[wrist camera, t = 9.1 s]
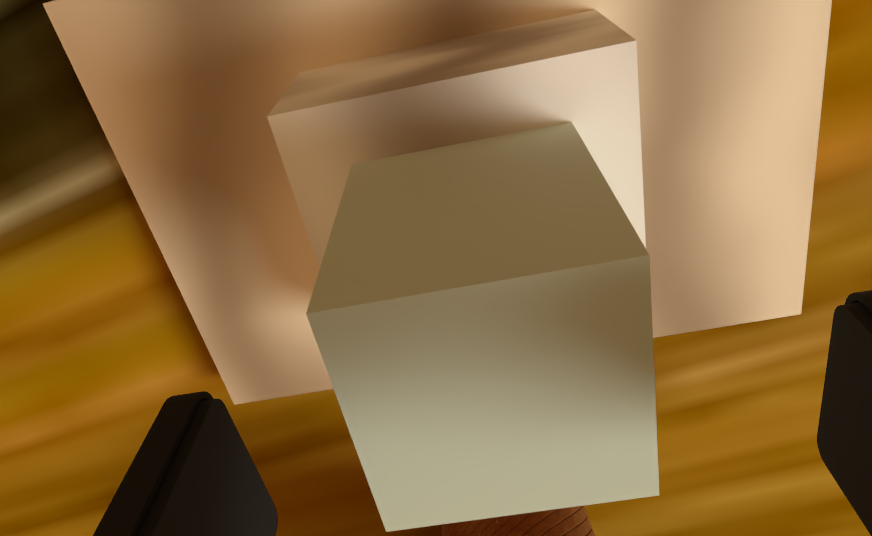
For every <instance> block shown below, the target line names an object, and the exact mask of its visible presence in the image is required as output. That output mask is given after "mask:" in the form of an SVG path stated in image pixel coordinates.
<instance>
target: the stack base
mask: <svg viewBox="0 0 872 536" xmlns="http://www.w3.org/2000/svg"><path fill="white" fill-rule="evenodd" d="M831 4H832V0H54V1H50V2H47V3H43V6H44V8H45V10H46V12H47V14H48V16H49V18H50V20H51V23H52V25H53V27H54V29H55V31H56V33H57V35H58V37H59V39H60V41H61V43H62V45H63V48H64V50H65V52H66V54H67V56H68V58H69V60H70V62H71V64H72V66H73V68H74V71H75V73H76V75H77V77H78V79H79V81H80V83H81V85H82V87H83V89H84V91H85V94H86V96H87V98H88V100H89V102H90V104H91V106H92V108H93V110H94V112H95V114H96V117H97V119H98V121H99V123H100V125H101V127H102V129H103V131H104V133H105V135H106V137H107V139H108V142H109V144H110V146H111V148H112V150H113V152H114V154H115V156H116V158H117V160H118V162H119V165H120V167H121V169H122V171H123V173H124V175H125V177H126V179H127V181H128V183H129V185H130V188H131V190H132V192H133V194H134V196H135V198H136V200H137V202H138V204H139V206H140V208H141V211H142V213H143V215H144V217H145V219H146V221H147V223H148V225H149V227H150V229H151V231H152V234H153V236H154V238H155V240H156V242H157V244H158V246H159V248H160V250H161V252H162V254H163V256H164V259H165V261H166V263H167V265H168V267H169V269H170V271H171V273H172V275H173V277H174V279H175V282H176V284H177V286H178V288H179V290H180V292H181V294H182V296H183V298H184V300H185V302H186V305H187V307H188V309H189V311H190V313H191V315H192V317H193V319H194V321H195V323H196V325H197V328H198V330H199V332H200V334H201V336H202V338H203V340H204V342H205V344H206V346H207V348H208V350H209V353H210V355H211V357H212V359H213V361H214V363H215V365H216V367H217V369H218V371H219V373H220V376H221V378H222V380H223V382H224V384H225V386H226V388H227V390H228V392H229V394H230V396H231V399H232V401H233V403H234V405H235V404H241V403H248V402H254V401H260V400H266V399H273V398H279V397H285V396H291V395H298V394H304V393H310V392H316V391H323V390H329V389H334V388H333V386H332V383H331V380H330V378H329V375H328V372H327V369H326V367H325V364H324V361H323V358H322V356H321V353H320V350H319V348H318V345H317V342H316V339H315V337H314V334H313V331H312V329H311V326H310V323H309V320H308V318H307V315H306V312H307V309H308V306H309V303H310V299H311V296H312V293H313V289H314V286H315V283H316V280H317V276H318V273H319V270H320V267H321V263H322V260H323V257H324V253H325V250H326V247H327V244H328V240H329V237H330V234H331V231H332V227H333V224H334V221H335V218H336V214H337V211H338V208H339V204H340V201H341V198H342V195H343V191H344V188H345V185H346V182H347V178H348V175H349V172H350V169H351V165H352V164H357V163H362V162H367V161H372V160H377V159H382V158H387V157H393V156H398V155H403V154H408V153H413V152H418V151H424V150H429V149H434V148H439V147H444V146H449V145H455V144H460V143H465V142H470V141H475V140H480V139H486V138H491V137H496V136H501V135H506V134H511V133H517V132H522V131H527V130H532V129H537V128H542V127H547V126H553V125H558V124H563V123H568V122H572V123H573V125H574V127H575V128H576V130H577V132H578V133H579V135H580V137H581V139H582V140H583V142H584V144H585V145H586V147H587V149H588V151H589V152H590V154H591V156H592V157H593V159H594V161H595V162H596V164H597V166H598V168H599V169H600V171H601V173H602V174H603V176H604V178H605V180H606V181H607V183H608V185H609V186H610V188H611V190H612V192H613V193H614V195H615V197H616V198H617V200H618V202H619V204H620V205H621V207H622V209H623V210H624V212H625V214H626V216H627V217H628V219H629V221H630V222H631V224H632V226H633V227H634V229H635V231H636V233H637V234H638V236H639V238H640V239H641V241H642V243H643V245H644V246H645V248H646V250H647V251H648V253H649V255H650V278H651V303H652V327H653V338H655V337H661V336H667V335H673V334H680V333H686V332H692V331H698V330H705V329H711V328H717V327H723V326H730V325H736V324H742V323H749V322H755V321H761V320H767V319H774V318H780V317H786V316H792V315H799V314H801V309H802V299H803V289H804V279H805V269H806V258H807V248H808V238H809V228H810V218H811V207H812V197H813V187H814V177H815V167H816V157H817V146H818V136H819V126H820V116H821V106H822V95H823V85H824V75H825V65H826V55H827V44H828V34H829V24H830V14H831Z"/></svg>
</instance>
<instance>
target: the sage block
mask: <svg viewBox="0 0 872 536" xmlns="http://www.w3.org/2000/svg"><path fill="white" fill-rule="evenodd" d="M306 315H307V318H308V320H309V323H310V326H311V329H312V331H313V334H314V337H315V339H316V342H317V345H318V348H319V350H320V353H321V356H322V358H323V361H324V364H325V367H326V369H327V372H328V375H329V378H330V380H331V383H332V386H333V388H334V391H335V394H336V397H337V399H338V402H339V405H340V407H341V410H342V413H343V416H344V418H345V421H346V424H347V426H348V429H349V432H350V435H351V437H352V440H353V443H354V446H355V448H356V451H357V454H358V456H359V459H360V462H361V465H362V467H363V470H364V473H365V475H366V478H367V481H368V484H369V486H370V489H371V492H372V494H373V497H374V500H375V503H376V505H377V508H378V511H379V513H380V516H381V519H382V522H383V524H384V527H385V530H386V532H389V531H397V530H404V529H412V528H419V527H427V526H434V525H441V524H449V523H456V522H464V521H471V520H479V519H486V518H494V517H501V516H509V515H516V514H523V513H531V512H538V511H546V510H553V509H561V508H568V507H576V506H583V505H591V504H598V503H606V502H613V501H620V500H628V499H635V498H643V497H650V496H658V495H659V475H658V450H657V426H656V401H655V376H654V352H653V327H652V303H651V278H650V255H649V253H648V251H647V250H646V248H645V246H644V245H643V243H642V241H641V239H640V238H639V236H638V234H637V233H636V231H635V229H634V227H633V226H632V224H631V222H630V221H629V219H628V217H627V216H626V214H625V212H624V210H623V209H622V207H621V205H620V204H619V202H618V200H617V198H616V197H615V195H614V193H613V192H612V190H611V188H610V186H609V185H608V183H607V181H606V180H605V178H604V176H603V174H602V173H601V171H600V169H599V168H598V166H597V164H596V162H595V161H594V159H593V157H592V156H591V154H590V152H589V151H588V149H587V147H586V145H585V144H584V142H583V140H582V139H581V137H580V135H579V133H578V132H577V130H576V128H575V127H574V125H573V123H572V122H568V123H563V124H558V125H553V126H547V127H542V128H537V129H532V130H527V131H522V132H517V133H511V134H506V135H501V136H496V137H491V138H486V139H480V140H475V141H470V142H465V143H460V144H455V145H449V146H444V147H439V148H434V149H429V150H424V151H418V152H413V153H408V154H403V155H398V156H393V157H387V158H382V159H377V160H372V161H367V162H362V163H357V164H352V165H351V169H350V172H349V175H348V178H347V182H346V185H345V188H344V191H343V195H342V198H341V201H340V204H339V208H338V211H337V214H336V218H335V221H334V224H333V227H332V231H331V234H330V237H329V240H328V244H327V247H326V250H325V253H324V257H323V260H322V263H321V267H320V270H319V273H318V276H317V280H316V283H315V286H314V289H313V293H312V296H311V299H310V303H309V306H308V309H307V312H306Z"/></svg>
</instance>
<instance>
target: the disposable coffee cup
mask: <svg viewBox="0 0 872 536" xmlns="http://www.w3.org/2000/svg"><path fill="white" fill-rule="evenodd" d="M591 527H592V526H591V524H590V522H589V519H588V517H587V514H586V511H585V509H584V506H576V507H568V508H561V509H553V510H546V511H538V512H531V513H523V514H516V515H509V516H501V517H494V518H486V519H479V520H471V521H464V522H456V523H449V524H442V529H441V536H595V534H594V532H593V530H592V528H591Z"/></svg>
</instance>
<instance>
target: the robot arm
mask: <svg viewBox="0 0 872 536" xmlns="http://www.w3.org/2000/svg"><path fill="white" fill-rule="evenodd" d="M817 444H818V449H819V452H820V455H821V457H822V460H823V461H824V463H825V465H826V466H827V468H828V470H829V471H830V473H831V474H832V476H833V477H834V479H835V480H836V482H837V483H838V485H839V487H840V488H841V490H842V491H843V493H844V494H845V496H846V497H847V499H848V501H849V502H850V504H851V505H852V507H853V508H854V510H855V511H856V513H857V515H858V516H859V518H860V519H861V521H862V522H863V524H864V525H865V527H866V529H867V530H868V532H869V533H870V535H871V536H872V290H870V291H863V292H857V293H853V294H850V295H849V296H848V298H847V299H846V302H845V305H840V306H837V308H836V309H835V312H834V317H833V324H832V331H831V339H830V346H829V353H828V361H827V368H826V375H825V382H824V390H823V397H822V404H821V411H820V419H819V426H818V433H817ZM277 522H278V519H277V511H276V507H275V505H274V503H273V501H272V499H271V497H270V495H269V493H268V491H267V489H266V487H265V485H264V483H263V481H262V479H261V477H260V475H259V473H258V471H257V469H256V467H255V465H254V463H253V461H252V459H251V457H250V455H249V453H248V451H247V449H246V447H245V445H244V443H243V441H242V439H241V437H240V435H239V433H238V431H237V429H236V427H235V425H234V423H233V421H232V419H231V417H230V415H229V413H228V411H227V408H226V406H225V405H224V403H223V402H222V401H221V400H220V399H213V397H212V396H211V394H209V393H208V392H196V393H190V394H183V395H177V396H171V397H170V398H168V399H167V400H166V401H165V403H164V404H163V406H162V408H161V410H160V412H159V414H158V415H157V417H156V419H155V421H154V423H153V425H152V427H151V428H150V430H149V432H148V434H147V436H146V438H145V440H144V441H143V443H142V445H141V447H140V449H139V451H138V453H137V455H136V456H135V458H134V460H133V462H132V464H131V466H130V468H129V469H128V471H127V473H126V475H125V477H124V479H123V481H122V482H121V484H120V486H119V488H118V490H117V492H116V494H115V495H114V497H113V499H112V501H111V503H110V505H109V507H108V508H107V510H106V512H105V514H104V516H103V518H102V520H101V522H100V523H99V525H98V527H97V529H96V531H95V533H94V535H93V536H275V535H276V531H277Z"/></svg>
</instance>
